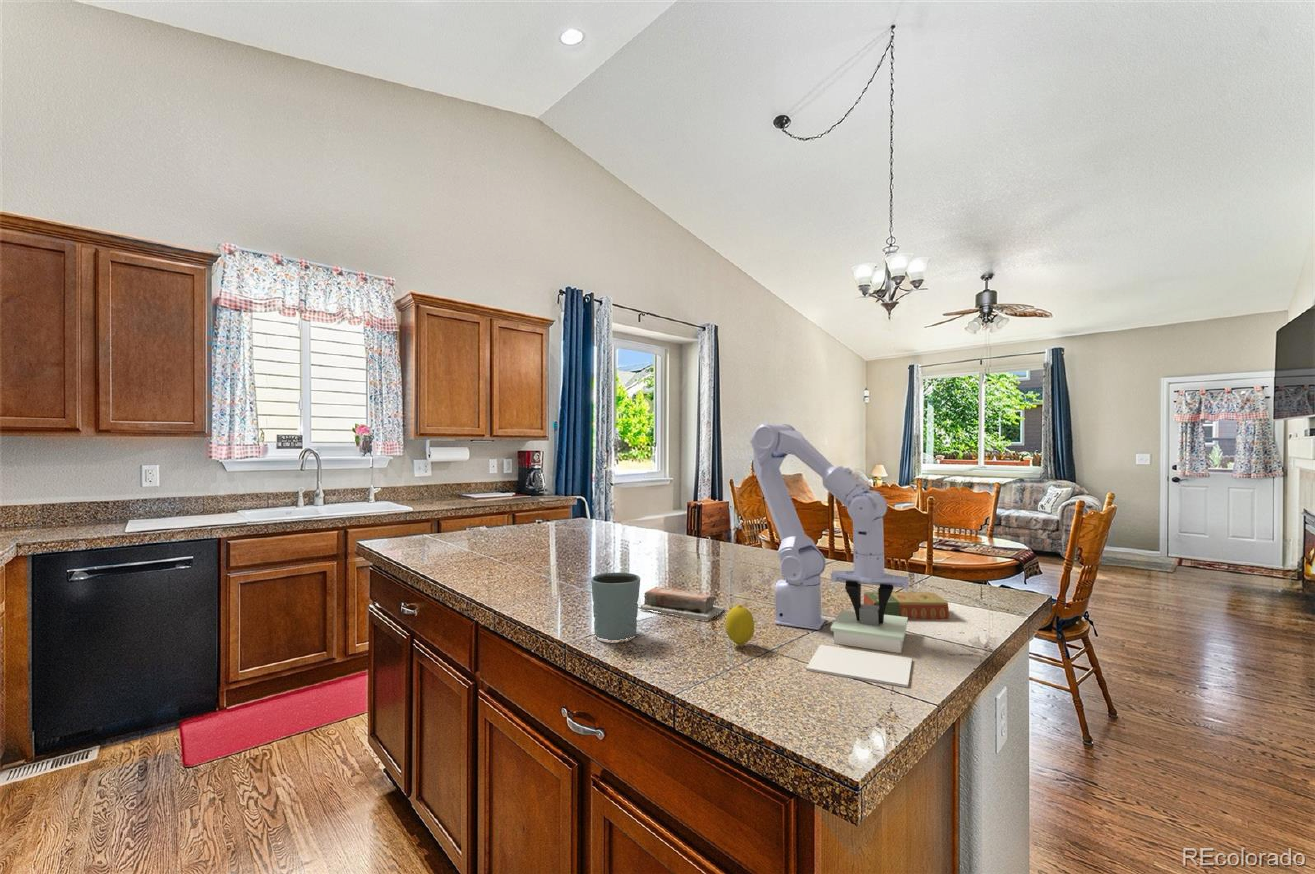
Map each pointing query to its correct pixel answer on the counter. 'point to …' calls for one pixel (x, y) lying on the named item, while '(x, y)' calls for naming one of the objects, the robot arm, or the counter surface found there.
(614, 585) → the grey-green cup
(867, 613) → the lid
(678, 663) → the counter surface
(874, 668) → the mat
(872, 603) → the carton
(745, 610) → the lemon
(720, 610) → the packaged product
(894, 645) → the box
